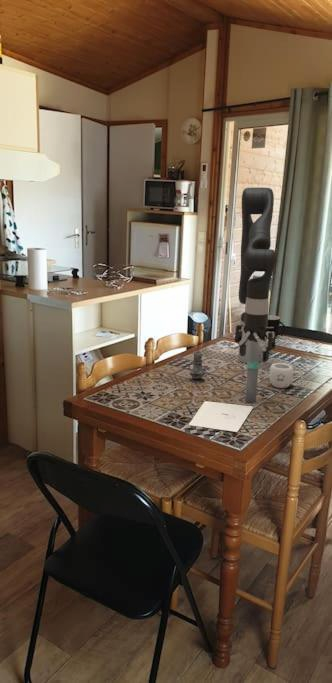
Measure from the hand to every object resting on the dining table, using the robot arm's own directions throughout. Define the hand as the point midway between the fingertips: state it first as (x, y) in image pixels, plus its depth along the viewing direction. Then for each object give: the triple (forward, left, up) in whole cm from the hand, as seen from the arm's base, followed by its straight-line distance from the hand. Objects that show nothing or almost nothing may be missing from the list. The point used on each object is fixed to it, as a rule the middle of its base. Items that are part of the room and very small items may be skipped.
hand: (253, 358), depth 179 cm
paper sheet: (+20, -5, -16) cm, 26 cm away
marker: (0, 0, -15) cm, 15 cm away
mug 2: (-21, +1, -15) cm, 26 cm away
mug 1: (-77, -39, -15) cm, 88 cm away
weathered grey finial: (-3, -26, -15) cm, 30 cm away
